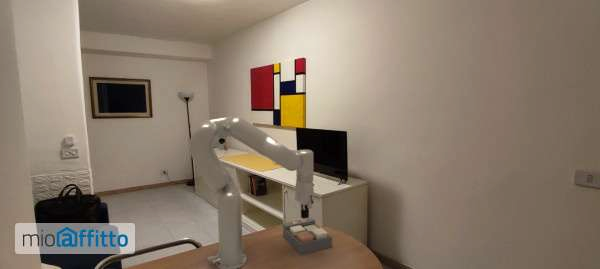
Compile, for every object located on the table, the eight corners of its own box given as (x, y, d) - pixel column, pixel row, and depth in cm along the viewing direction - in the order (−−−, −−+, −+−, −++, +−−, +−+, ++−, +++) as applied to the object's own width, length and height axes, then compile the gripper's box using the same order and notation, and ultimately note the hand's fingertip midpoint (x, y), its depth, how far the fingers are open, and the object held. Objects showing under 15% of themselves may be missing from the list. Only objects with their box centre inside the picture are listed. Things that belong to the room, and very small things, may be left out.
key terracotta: (302, 243, 126) (302, 238, 125) (296, 237, 130) (296, 233, 130) (313, 240, 128) (313, 236, 128) (307, 235, 133) (307, 231, 133)
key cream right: (316, 239, 129) (316, 235, 129) (310, 234, 134) (310, 230, 134) (327, 236, 131) (327, 232, 131) (321, 231, 136) (321, 227, 136)
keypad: (300, 255, 124) (300, 239, 123) (283, 237, 141) (283, 223, 140) (331, 247, 131) (331, 231, 130) (311, 230, 148) (311, 217, 147)
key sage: (308, 235, 136) (308, 231, 135) (303, 230, 141) (303, 226, 140) (319, 232, 138) (319, 228, 138) (313, 228, 143) (313, 224, 143)
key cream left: (294, 236, 132) (294, 232, 132) (289, 231, 137) (289, 227, 137) (305, 233, 135) (305, 229, 134) (300, 228, 140) (300, 225, 139)
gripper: (290, 174, 131) (290, 213, 133) (305, 183, 118) (305, 225, 120) (304, 173, 135) (304, 210, 137) (320, 180, 121) (320, 222, 123)
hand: (304, 217), depth 128 cm, fingers closed
